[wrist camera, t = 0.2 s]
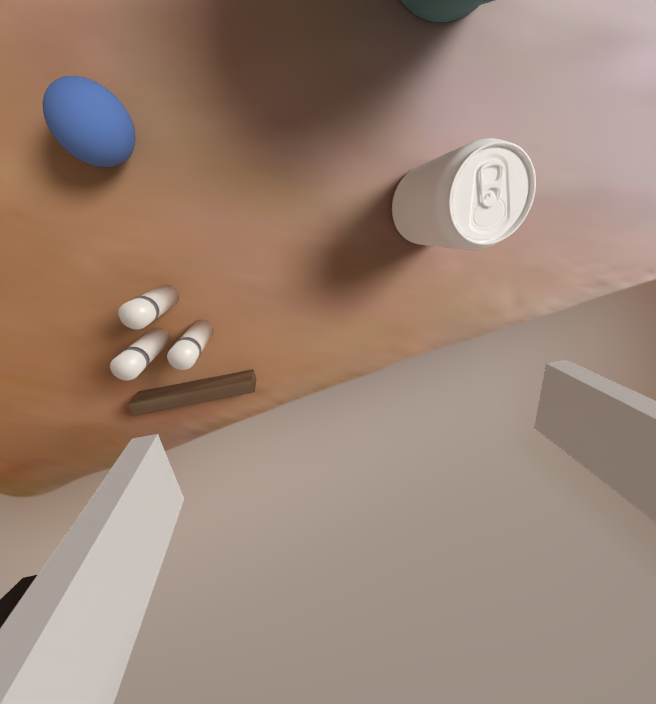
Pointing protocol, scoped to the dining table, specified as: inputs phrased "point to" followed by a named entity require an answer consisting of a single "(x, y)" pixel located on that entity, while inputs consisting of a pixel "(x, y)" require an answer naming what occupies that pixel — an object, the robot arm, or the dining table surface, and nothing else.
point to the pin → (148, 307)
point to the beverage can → (466, 196)
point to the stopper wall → (193, 392)
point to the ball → (89, 121)
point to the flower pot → (442, 8)
